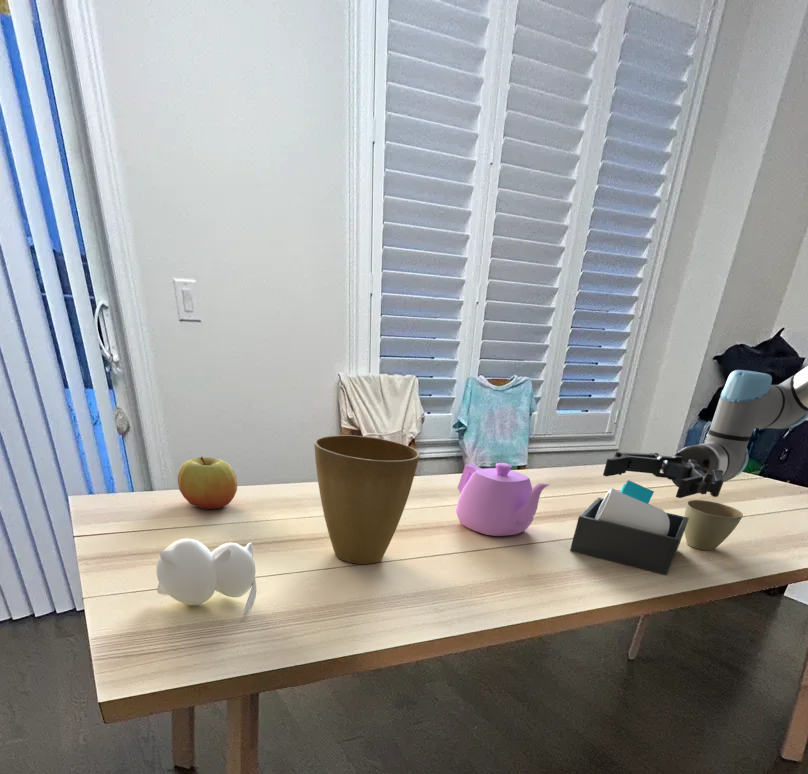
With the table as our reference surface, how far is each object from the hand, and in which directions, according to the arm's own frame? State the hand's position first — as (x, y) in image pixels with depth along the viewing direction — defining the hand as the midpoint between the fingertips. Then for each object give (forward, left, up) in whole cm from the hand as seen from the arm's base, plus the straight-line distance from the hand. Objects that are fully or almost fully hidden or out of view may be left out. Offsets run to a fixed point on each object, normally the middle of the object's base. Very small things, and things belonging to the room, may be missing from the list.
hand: (642, 478), depth 105 cm
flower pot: (-13, -16, -13) cm, 24 cm away
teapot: (+22, +4, -13) cm, 26 cm away
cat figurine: (+40, +60, -13) cm, 73 cm away
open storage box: (-1, -2, -13) cm, 13 cm away
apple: (+66, +30, -13) cm, 74 cm away
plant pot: (+34, +33, -13) cm, 49 cm away
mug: (0, -1, -11) cm, 11 cm away
